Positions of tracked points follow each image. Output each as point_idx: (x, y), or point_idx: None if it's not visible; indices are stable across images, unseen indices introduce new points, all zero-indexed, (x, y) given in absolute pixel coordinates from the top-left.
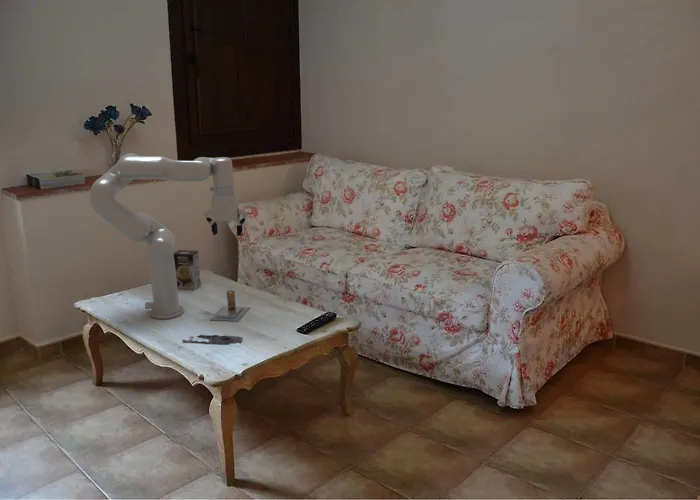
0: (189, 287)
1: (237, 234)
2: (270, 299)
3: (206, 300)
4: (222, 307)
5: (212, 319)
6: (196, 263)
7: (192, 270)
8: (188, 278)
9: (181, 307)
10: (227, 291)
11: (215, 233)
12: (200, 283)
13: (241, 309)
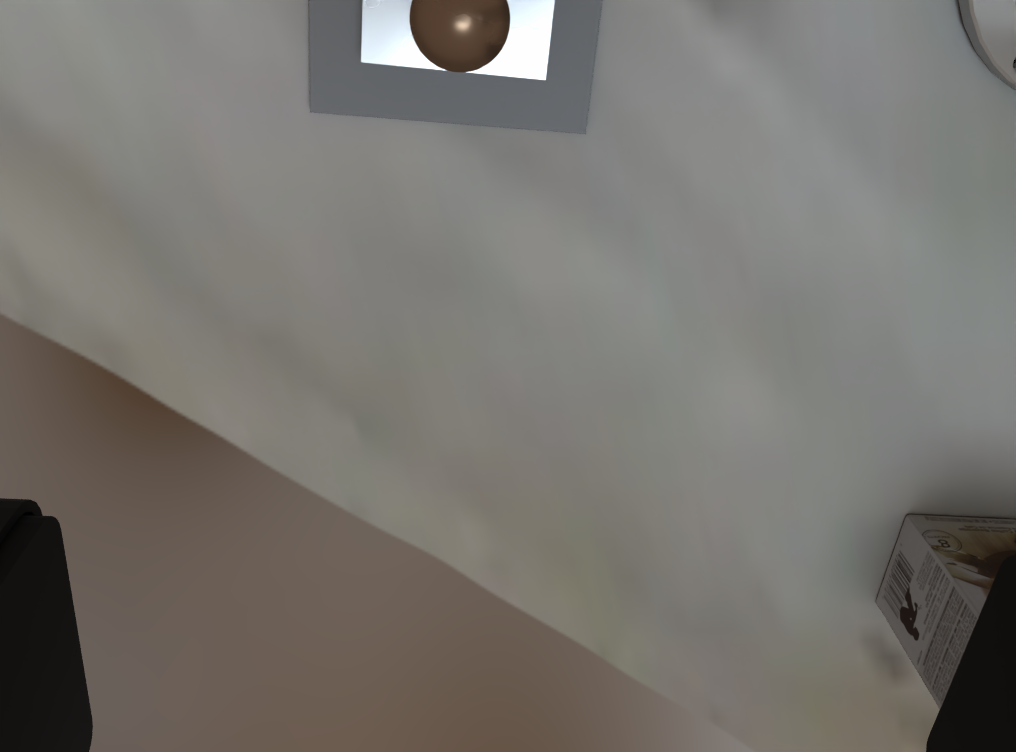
0: (965, 527)
1: (10, 525)
2: (189, 341)
3: (776, 293)
4: (583, 96)
5: None
6: None
7: None
8: None
9: (995, 30)
10: (503, 28)
11: (1009, 631)
12: (883, 613)
13: (363, 20)
